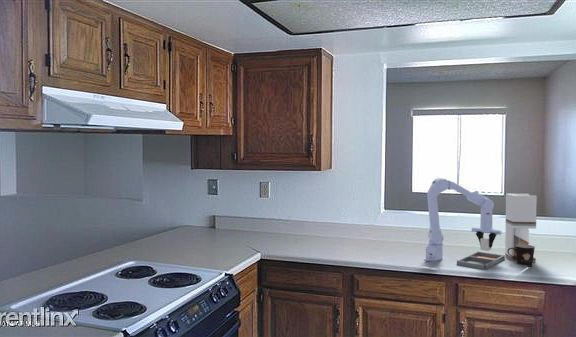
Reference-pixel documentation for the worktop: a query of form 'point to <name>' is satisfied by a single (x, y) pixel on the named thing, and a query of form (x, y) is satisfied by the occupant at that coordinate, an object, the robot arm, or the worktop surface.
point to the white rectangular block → (484, 244)
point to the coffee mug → (524, 254)
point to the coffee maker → (519, 221)
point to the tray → (481, 260)
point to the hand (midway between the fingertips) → (486, 246)
